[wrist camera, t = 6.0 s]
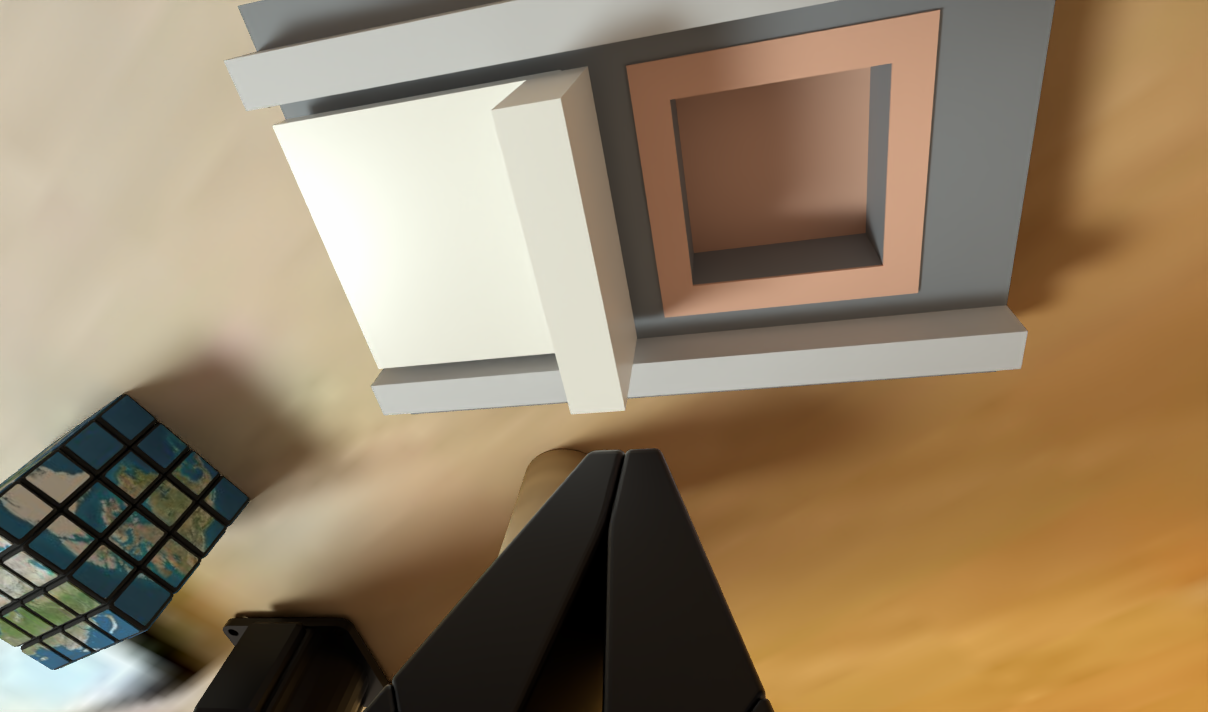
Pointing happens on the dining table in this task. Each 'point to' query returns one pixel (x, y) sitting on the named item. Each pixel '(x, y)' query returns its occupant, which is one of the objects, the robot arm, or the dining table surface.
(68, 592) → the puzzle
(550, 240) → the shutter
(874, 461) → the dining table surface
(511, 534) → the maple pin
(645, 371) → the grey sliding panel frame
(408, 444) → the dining table surface
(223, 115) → the dining table surface
